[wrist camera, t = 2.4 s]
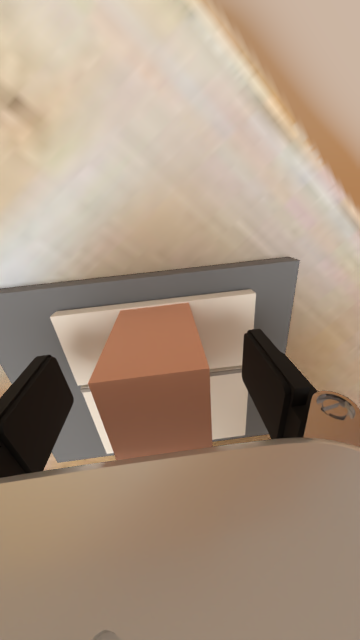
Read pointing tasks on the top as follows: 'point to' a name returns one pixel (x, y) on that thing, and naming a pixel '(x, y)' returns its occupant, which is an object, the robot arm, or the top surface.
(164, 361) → the stub
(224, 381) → the pad
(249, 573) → the robot arm
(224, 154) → the top surface
